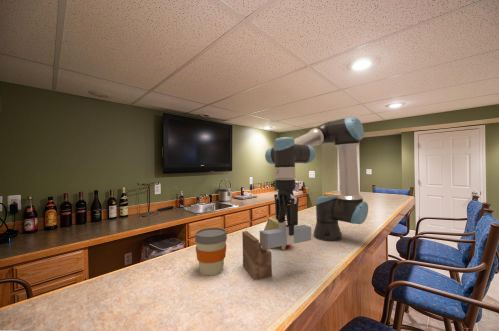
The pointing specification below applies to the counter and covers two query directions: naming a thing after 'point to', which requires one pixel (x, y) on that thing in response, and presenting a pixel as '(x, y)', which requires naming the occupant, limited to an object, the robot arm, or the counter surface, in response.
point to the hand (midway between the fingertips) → (286, 241)
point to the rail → (284, 236)
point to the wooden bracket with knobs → (256, 257)
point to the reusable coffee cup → (211, 250)
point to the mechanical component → (273, 227)
